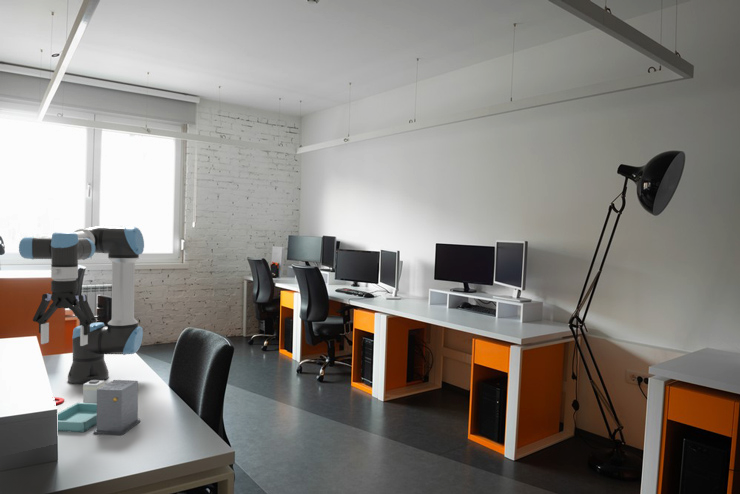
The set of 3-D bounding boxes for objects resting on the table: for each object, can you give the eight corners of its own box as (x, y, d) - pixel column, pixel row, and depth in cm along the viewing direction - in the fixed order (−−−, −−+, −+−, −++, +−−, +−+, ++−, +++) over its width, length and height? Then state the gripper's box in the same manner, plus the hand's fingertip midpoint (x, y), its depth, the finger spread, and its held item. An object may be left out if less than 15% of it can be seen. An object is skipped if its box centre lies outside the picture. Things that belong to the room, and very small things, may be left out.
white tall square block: (91, 401, 189) (91, 378, 189) (104, 402, 189) (104, 379, 189) (82, 406, 184) (83, 382, 184) (96, 406, 184) (96, 383, 184)
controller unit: (113, 420, 172) (113, 379, 171) (140, 421, 171) (140, 380, 171) (93, 434, 160) (93, 389, 160) (122, 435, 160) (122, 390, 159)
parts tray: (77, 411, 179) (77, 402, 179) (113, 412, 179) (113, 404, 179) (43, 430, 162) (43, 421, 162) (83, 432, 162) (83, 422, 161)
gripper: (20, 279, 165) (19, 344, 166) (93, 281, 163) (93, 348, 164) (37, 277, 173) (36, 340, 173) (107, 279, 170) (107, 343, 171)
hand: (64, 344), depth 168 cm, fingers open, 13 cm apart
